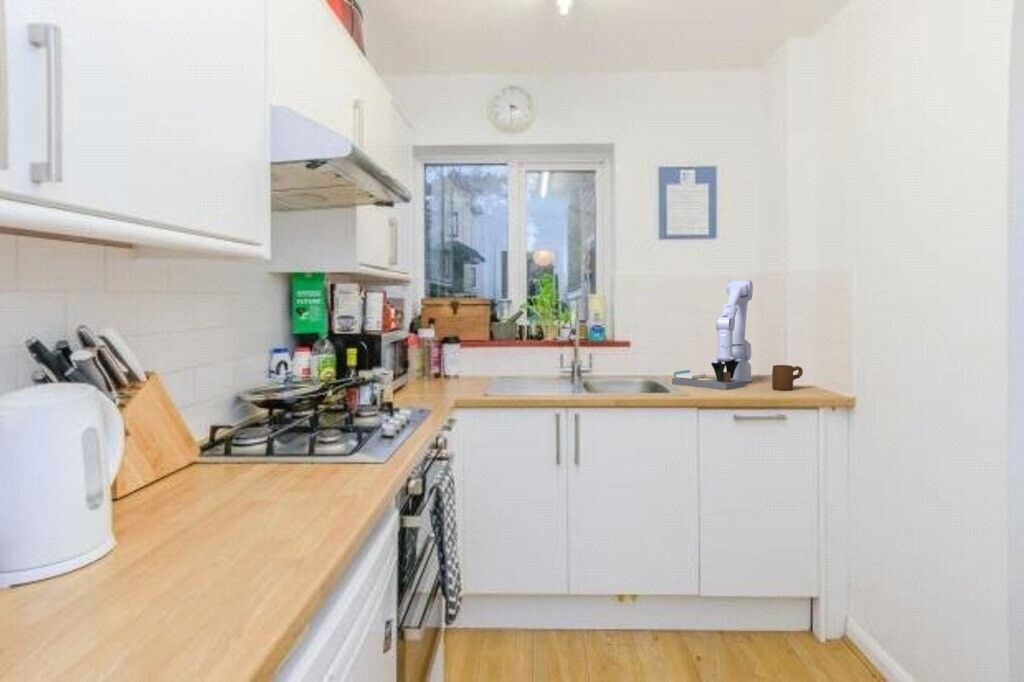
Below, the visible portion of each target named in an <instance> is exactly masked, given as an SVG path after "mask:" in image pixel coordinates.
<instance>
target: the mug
mask: <svg viewBox="0 0 1024 682" xmlns="http://www.w3.org/2000/svg"><path fill="white" fill-rule="evenodd" d="M771 371H772V373H771V374H772V375H771V377H772V378H771V381H772V386H771V387H772V390H775V391H782V392H783V391H784V392H787V391H789V392H790V391H792V390H793V389H794V381H795V380H797V379H800V378H801V377H802V375H803V372H804V371H803V368H802V366H798V365H795V366H793V365H789V364H788V365H787V364H776V365H772V370H771ZM795 371H798V372H797V374H794V372H795Z"/></svg>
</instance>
